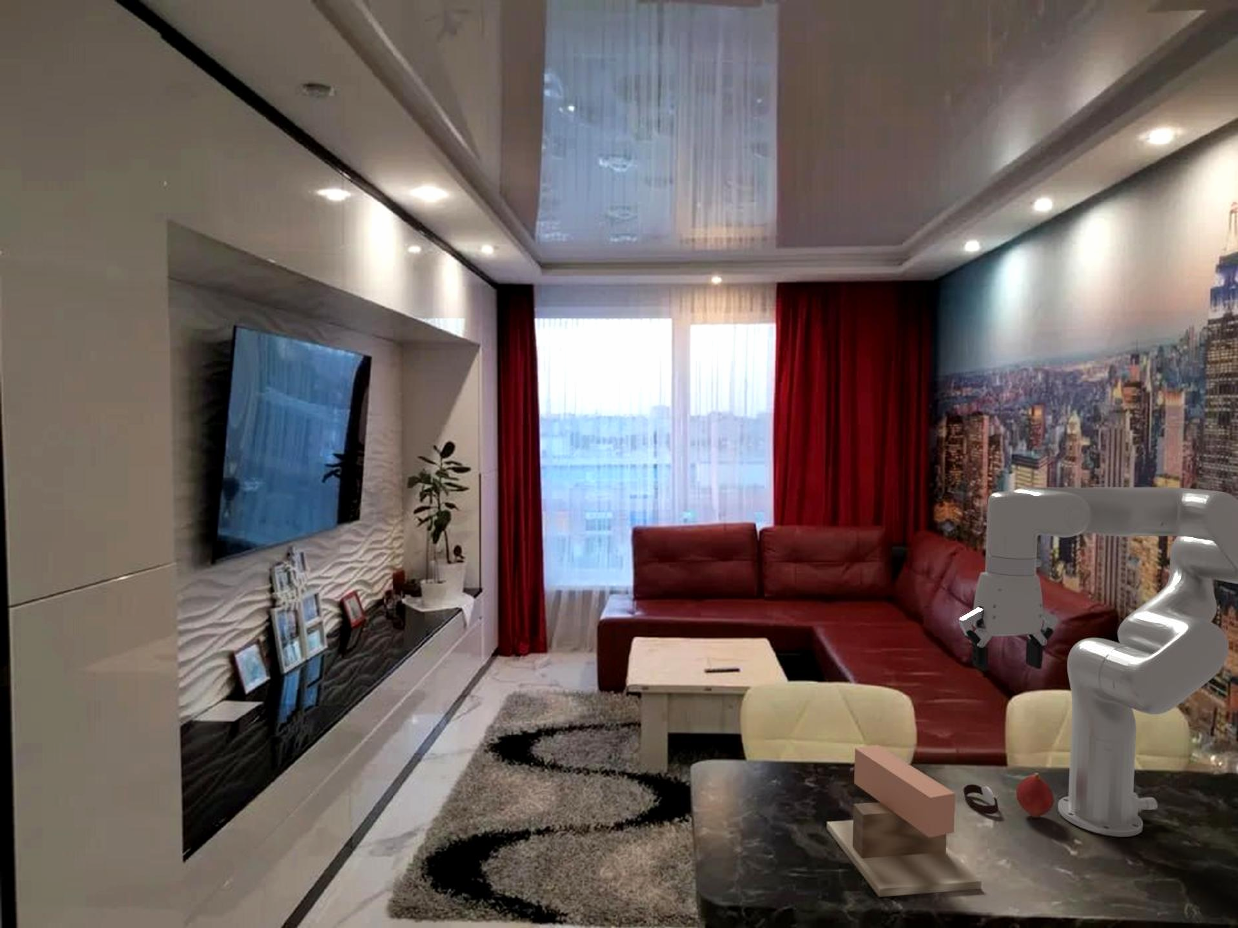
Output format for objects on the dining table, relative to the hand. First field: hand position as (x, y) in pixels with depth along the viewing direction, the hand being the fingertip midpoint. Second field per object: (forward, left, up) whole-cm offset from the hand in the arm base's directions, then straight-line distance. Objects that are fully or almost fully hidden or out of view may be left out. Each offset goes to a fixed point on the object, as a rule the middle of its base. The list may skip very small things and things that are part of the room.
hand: (1006, 667), depth 129 cm
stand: (+21, +5, -28) cm, 36 cm away
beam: (+21, +5, -20) cm, 29 cm away
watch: (-2, -9, -29) cm, 30 cm away
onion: (-9, -4, -28) cm, 30 cm away
